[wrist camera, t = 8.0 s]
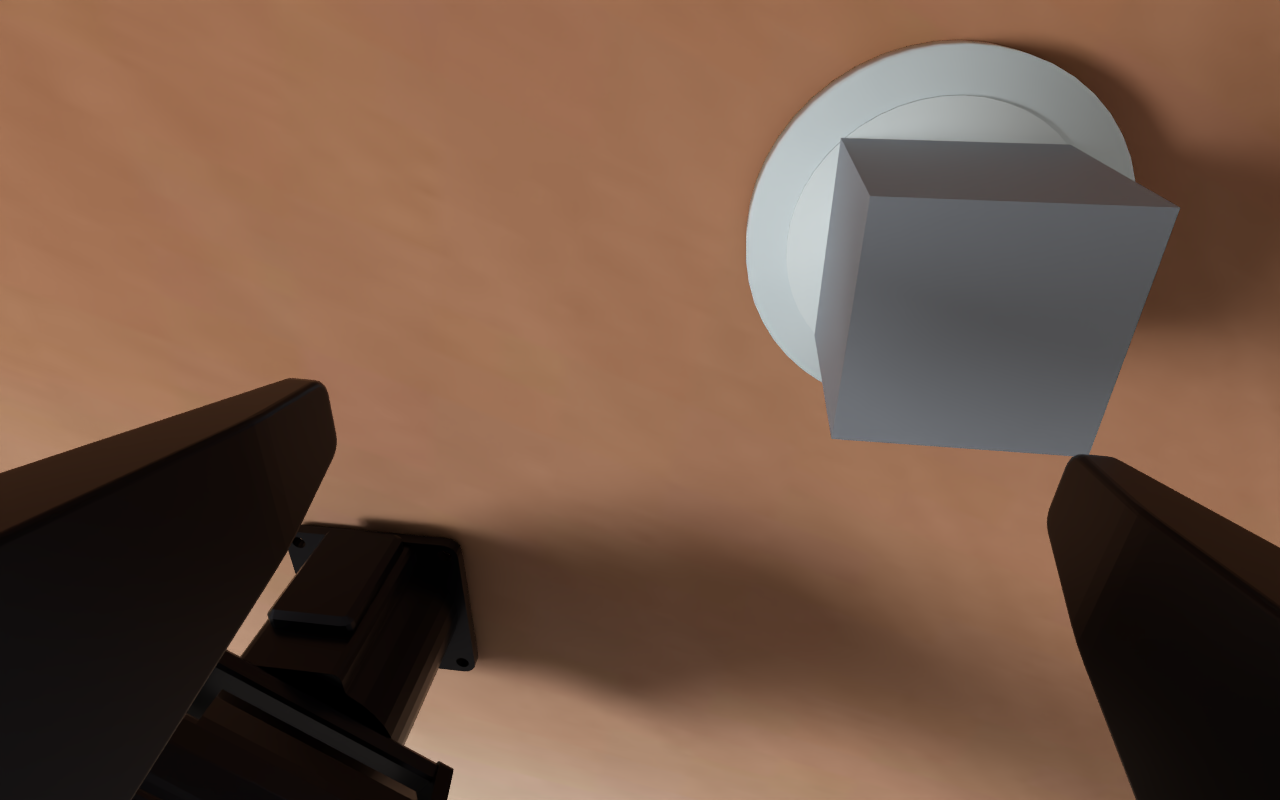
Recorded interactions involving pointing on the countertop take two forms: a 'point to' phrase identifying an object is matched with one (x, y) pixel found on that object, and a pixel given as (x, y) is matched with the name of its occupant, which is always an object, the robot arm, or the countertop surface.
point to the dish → (905, 110)
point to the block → (981, 292)
